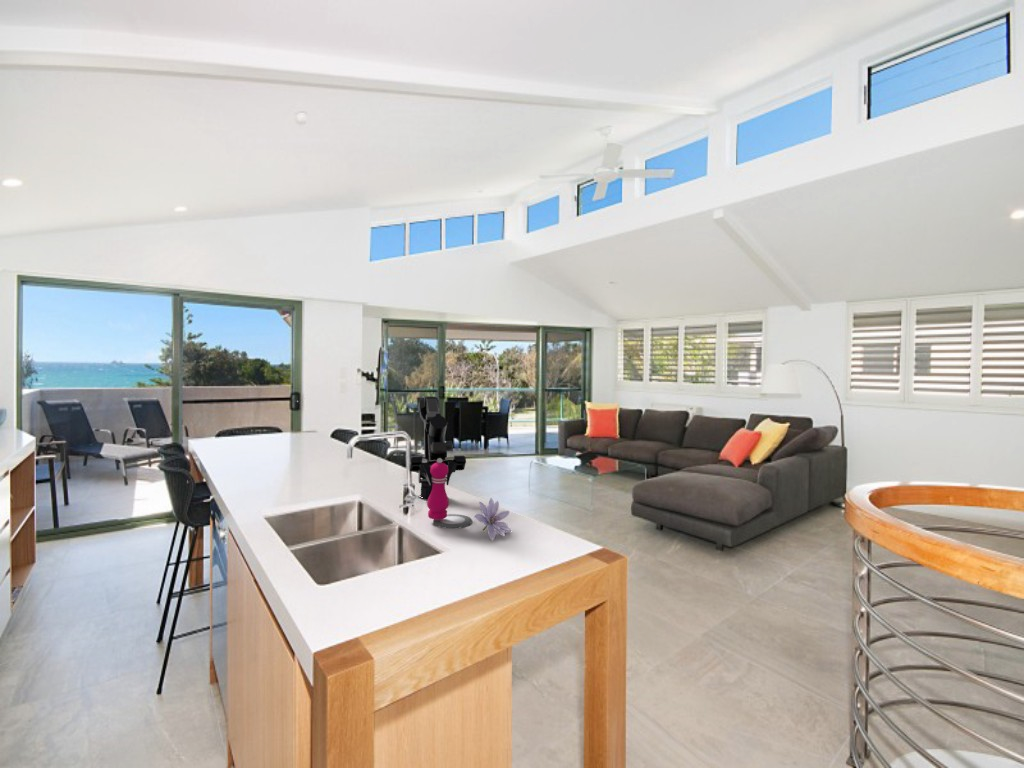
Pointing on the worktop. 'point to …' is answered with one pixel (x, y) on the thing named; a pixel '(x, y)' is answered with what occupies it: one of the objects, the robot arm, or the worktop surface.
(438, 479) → the pepper mill
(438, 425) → the robot arm
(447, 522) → the mat
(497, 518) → the water lily
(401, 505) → the worktop surface
